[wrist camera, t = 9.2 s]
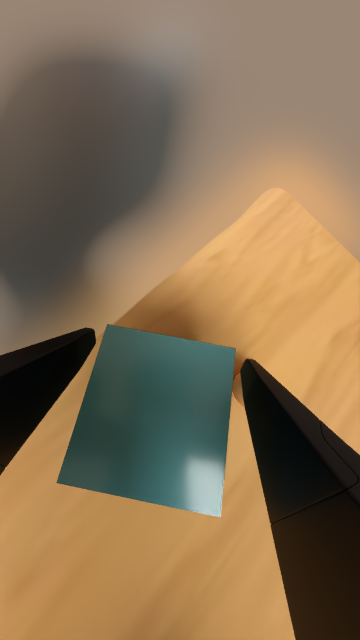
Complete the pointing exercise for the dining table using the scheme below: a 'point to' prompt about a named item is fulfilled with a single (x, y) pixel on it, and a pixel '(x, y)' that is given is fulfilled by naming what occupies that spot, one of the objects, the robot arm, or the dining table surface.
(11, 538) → the dining table surface
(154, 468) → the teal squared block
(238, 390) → the orange small ball
